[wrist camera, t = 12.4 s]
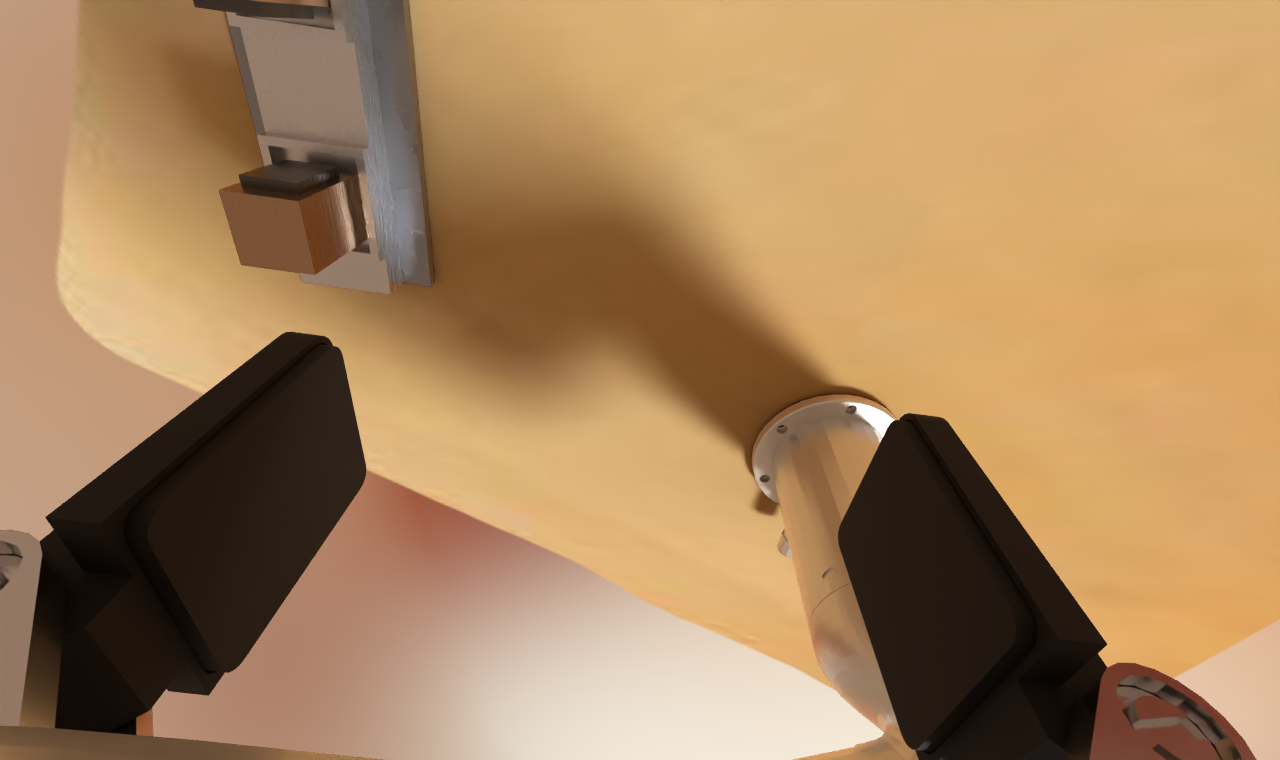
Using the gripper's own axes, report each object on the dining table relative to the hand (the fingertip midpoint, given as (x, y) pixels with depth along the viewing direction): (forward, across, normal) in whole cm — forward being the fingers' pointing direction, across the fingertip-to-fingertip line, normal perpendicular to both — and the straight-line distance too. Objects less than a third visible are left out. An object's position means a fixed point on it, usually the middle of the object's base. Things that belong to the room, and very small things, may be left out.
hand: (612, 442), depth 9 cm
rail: (+28, +20, -1) cm, 34 cm away
